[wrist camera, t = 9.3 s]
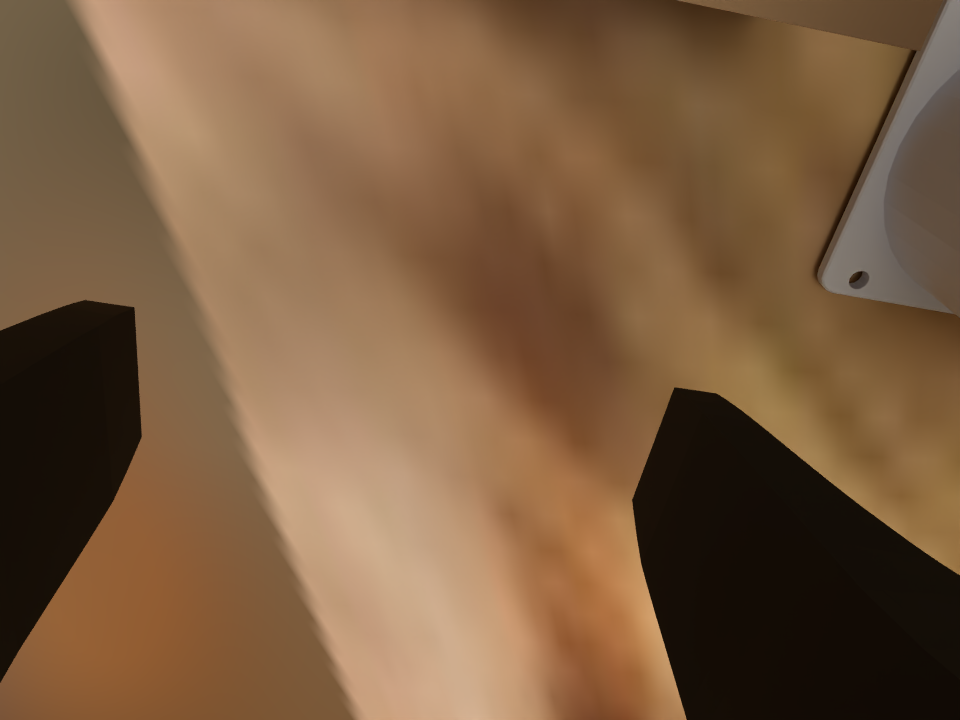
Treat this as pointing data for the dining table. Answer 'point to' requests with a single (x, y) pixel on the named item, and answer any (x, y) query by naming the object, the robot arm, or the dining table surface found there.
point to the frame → (846, 17)
